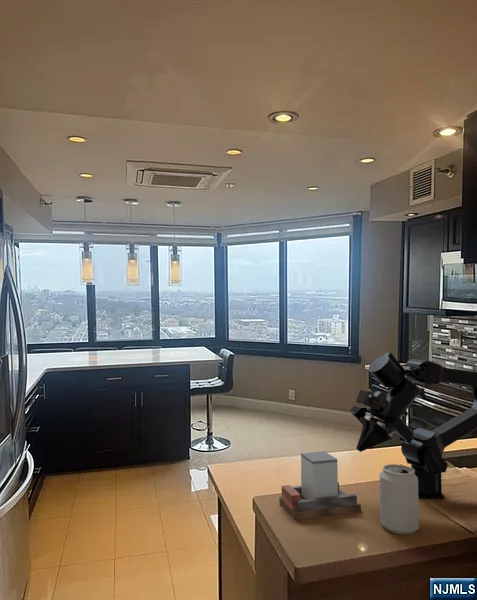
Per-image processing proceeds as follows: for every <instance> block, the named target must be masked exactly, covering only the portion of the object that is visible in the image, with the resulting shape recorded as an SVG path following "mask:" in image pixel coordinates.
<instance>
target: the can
mask: <svg viewBox="0 0 477 600" xmlns="http://www.w3.org/2000/svg"><path fill="white" fill-rule="evenodd" d="M414 473H415V472H414V470H413V469H412V468H411V466H407V465H404V464H403V465H402V464H398V463H397V464H394V463H393V464H392V463H391V464H385V465H383V466H382V470H381V472H379V513H380V514H379V515H380V516H379V517H380V518H379V519H380V520H379V521H380V524H381V525H382V526H383V527H384V528H385V529H386V530H387V531H389V532H391V533H394V534H399V535H412V534H414V533H415V532H416V531H417V530H419V528H420V515H419V513H420V512H419V507H420V506H419V497H418V478H417V476H416V475H415V474H414Z"/></svg>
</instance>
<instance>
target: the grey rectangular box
mask: <svg viewBox="0 0 477 600" xmlns="http://www.w3.org/2000/svg"><path fill="white" fill-rule="evenodd" d="M338 472H339V471H338V459H337V458H336V457H334V456H333V455H331V454H330V453H328V452H326V451H313V452H301V453H300V478H301V479H300V480H301V481H300V482H301V483H300V484H301V485H300V486H301V495H302V496H303V497H304V498H305V499H306V500H308V499H316V498H324V497H332V496H338V483H339V481H338V478H339V475H338Z"/></svg>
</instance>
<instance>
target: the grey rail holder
mask: <svg viewBox="0 0 477 600" xmlns="http://www.w3.org/2000/svg"><path fill="white" fill-rule="evenodd" d="M278 503H280V504H281V505H282V506H283V507H284V508H283V507H282V506H281V505H280V504H279V505H280V506H281V507H282V508H283V509H284V510H285V511H286V513H288V514H289V515H290V516H291V518H292V517H293V518H294V519H293V518H292V519H293V520H294V521H297V520H298V521H299V520H305V519H312V518H320V517H328V516H335V515H341V514H349V513H355V512H356V513H357V512H361V511H362V503H360V502H359V501H358V495H357V494H355V493H351V494H348V493H346V492H345V491H344V490H342V489H340V483H339V482H338V496H332V497H324V498H316V499H308V500H306V499H305V498H304V497H303V496H302V495H301V485H296V486H291V485H290V484H287V485H281V496H279V497H278Z"/></svg>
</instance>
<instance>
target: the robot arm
mask: <svg viewBox="0 0 477 600" xmlns="http://www.w3.org/2000/svg"><path fill="white" fill-rule="evenodd" d="M368 371H369V372H370V373H371V374H372V376H373V377H375V379H376V380H377V381H378V383H380V384H381V385H382V386H383V387H384V388H386V389H387V388H390V389H389V391H388V392H387V393H385V392H383V391H378V390H377V391H375V392H371V391H368V390H364V389H359V392H358V395H357V396H356V397H357V398H356V399H355V403H358V405H353V406H352V408H351V409H350V410H349V412H350V414H351V415H352V416H353V417H354V418H355V419H356V420H357V421H358V422H359V423H360V424H361V425H362V429H361V433H360V436H359V439H358V441H357V442H358V443H357V445H356V447H355V448H356V450H357V451H358V452H360V453H361V452H364V451H366V450H369V449H370V448H373V447H375V446H377V445H379V444H382V443H385V442H387V441H390V442H391V441H392V440H393V438H392V437H391V436H392V435H393V434H395V433H396V434H398V435H399V441H400V442H401V446H400V447H401V448H400V450H401V453H402V455H403V457H404V459H405V461H406V463H407V464H409V465H410V468H412V469H413V470H414V472H415V473H414V474H415V475H416V476H417V478H418V498H423V499H424V498H426V499H429V498H430V499H434V498H435V499H446V498H445V494H443V491H442V485H443V484H442V473H447V468H448V466H449V464H448V462H447V461H446V460H445V459H444V458H443V453H444V451H445V449H446V448H447V447H449V446H451V445H452V444H453V443H456V442H457V441H458V440H460V439H462V438H464V437H465V436H467V435H468V434H471V433H472V432H474V431H476V430H477V370H464V369H458V368H450V367H445V366H443V365H442V364H439V363H437V362H434V361H430V360H424V359H415V358H414V359H413V358H411V359H408V360H407V362H406V363H405V364H401V363H400V362H399V361H398V360H397V358H395V356H394V355H393V353H392V352H385V353H384V354H383V355H381V356H379V357H376V359H374V360H372V361H371V362H370V363H369V366H368ZM416 383H418V384H423V385H437V384H441V383H451V384H459V385H466V386H470V387H471V392H472V397H473V398H474V400H473V402H472V403H473V404H472V406H471V407H470V408H468V409H467V410H465V411H463V412H461V413H460V414H458V415H457V416H455V417H453V418H451V419H449V420H448V421H446V422H444V423H442V424H441V425H439V426H437V427H435V428H434V429H432V430H428V429H425V428H423V427H417V428H415V429H414V430H412V429H411V427H409V426H408V424H406V423H405V421H403V419H402V418H401V417H407V416H408V415H409V412H408V411H407V410H408V408H409V407H410V406H411V405H412V404H413V402H414V401H415V400H416V399H420V400H423V401H426V399H427V396H426V393H425V389H426V388H424V387H419V386H418V385H417V384H416ZM359 404H363V405H365V407H364V406H362V405H359Z"/></svg>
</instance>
